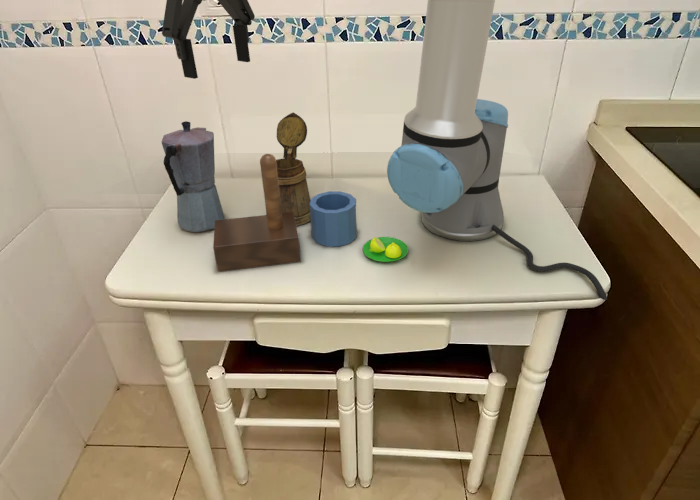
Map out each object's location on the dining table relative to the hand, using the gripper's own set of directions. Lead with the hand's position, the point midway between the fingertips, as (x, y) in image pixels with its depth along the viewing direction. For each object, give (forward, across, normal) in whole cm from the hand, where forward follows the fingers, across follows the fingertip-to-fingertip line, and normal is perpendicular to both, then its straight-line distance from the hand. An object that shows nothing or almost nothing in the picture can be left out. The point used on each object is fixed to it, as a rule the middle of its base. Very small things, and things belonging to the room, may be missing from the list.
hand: (218, 69), depth 98 cm
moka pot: (+26, +13, +3) cm, 30 cm away
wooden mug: (+26, 0, +15) cm, 30 cm away
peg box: (+26, +15, +20) cm, 36 cm away
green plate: (+27, +3, +38) cm, 47 cm away
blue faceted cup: (+26, +3, +28) cm, 38 cm away
